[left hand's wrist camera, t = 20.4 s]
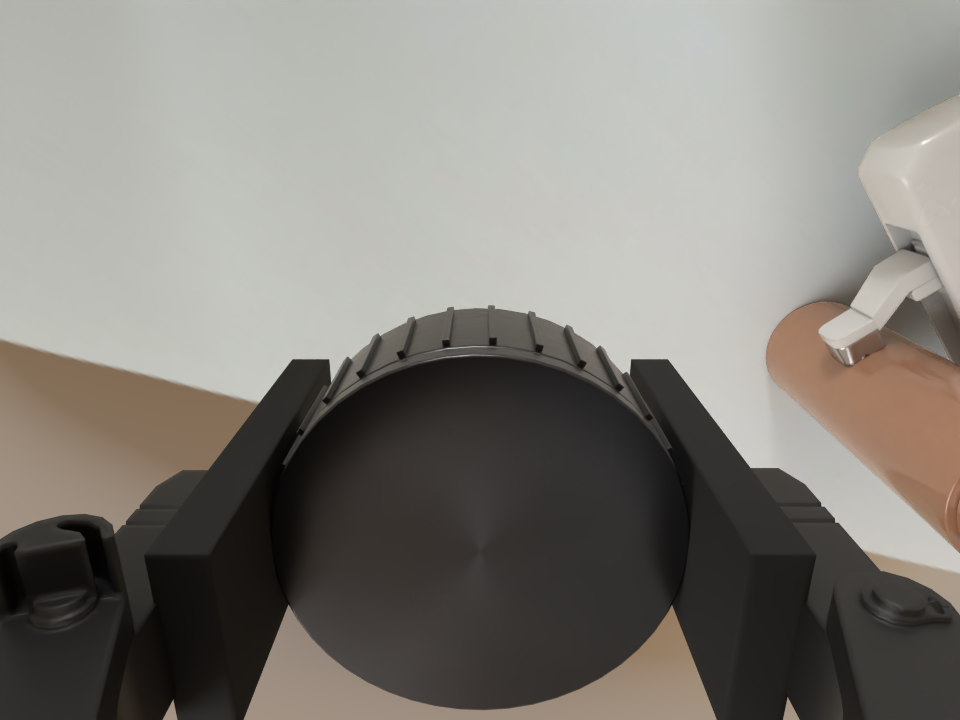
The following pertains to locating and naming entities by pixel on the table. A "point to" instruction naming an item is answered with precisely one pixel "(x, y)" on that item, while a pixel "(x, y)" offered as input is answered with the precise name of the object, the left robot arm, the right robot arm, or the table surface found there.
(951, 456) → the jar
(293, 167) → the table surface
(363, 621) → the lid
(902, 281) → the right robot arm
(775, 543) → the left robot arm
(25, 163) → the table surface
